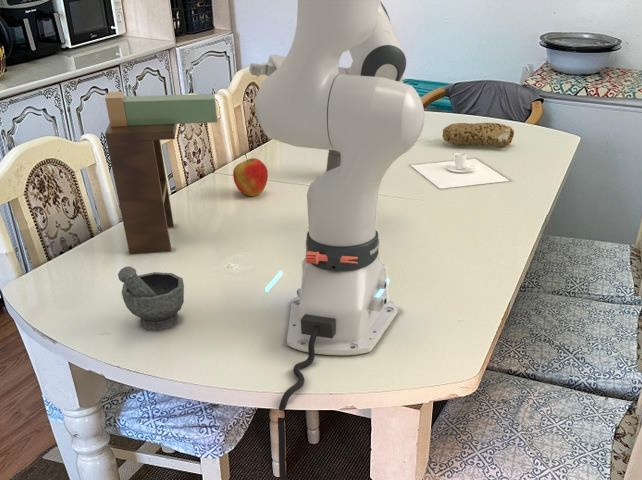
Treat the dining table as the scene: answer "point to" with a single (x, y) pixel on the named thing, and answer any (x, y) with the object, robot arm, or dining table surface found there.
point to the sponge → (478, 134)
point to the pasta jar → (160, 109)
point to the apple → (250, 177)
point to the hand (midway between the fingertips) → (256, 78)
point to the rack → (142, 184)
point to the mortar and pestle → (152, 297)
